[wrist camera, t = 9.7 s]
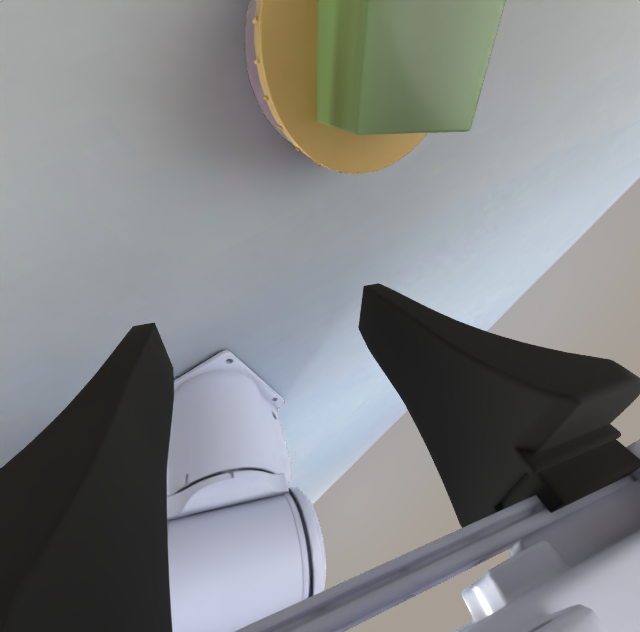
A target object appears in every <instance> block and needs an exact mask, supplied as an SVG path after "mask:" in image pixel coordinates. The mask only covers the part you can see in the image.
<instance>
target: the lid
mask: <svg viewBox="0 0 640 632" xmlns="http://www.w3.org/2000/svg"><path fill="white" fill-rule="evenodd" d="M252 23H253V24H255V27H254V43H255V54H256V60H254V64H257V69H258V74H259V79H260V83H261V86H262V89H263V93H264V96H263V99H264V100H266V101H267V104H268V106H269V108H270V111H271V113H272V115H273V117H274V118H275V120H276V122H277V124H278V125H277V127H278V128H279V129H281V130H282V131H283V133H284V134H285V135H286V137H287V138H288V139H289V140H290V141H291V142H292V143H293V144H294V145H295V147H294V148H295V149H296V150H298V151H299V152H300V151H301V152H303V153H304V154H305V155H307V156H308V157H310V158H311V159H313V160H314V163H316V164H317V165H319V166H321V165H323V166H325V167H327V168H329V169H332V170H335V171H338V172H340V173H342V172H343V173H352V174H359V173H368V172H372V171H377V170H379V169H382V168H385V167H387V166H389V165H391V164H393V163H395V162H396V161H398V160H399V159H401V158H402V157H404V156H405V155H406V154H408V153H409V152H410V151H411V150H412V149H413V148H414V147H416V146H417V145H418V144H419V142H420V141H421V140H422V139H423V138H424V137H425V136H426V135H427V133H408V134H377V135H356V134H353V133H350V132H347V131H344V130H341V129H338V128H335V127H332V126H329V125H326V124H323V123H320V122H317V33H318V0H257V3H256V13H255V18H254V19H253V20H252Z"/></svg>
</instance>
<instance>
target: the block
mask: <svg viewBox="0 0 640 632" xmlns="http://www.w3.org/2000/svg"><path fill="white" fill-rule="evenodd" d="M505 1H506V0H318V33H317V122H320V123H323V124H326V125H329V126H332V127H335V128H338V129H341V130H344V131H347V132H350V133H353V134H356V135H377V134H408V133H439V132H467V131H469V130H470V129H471V125H472V121H473V118H474V114H475V110H476V107H477V103H478V99H479V96H480V92H481V88H482V85H483V81H484V78H485V74H486V70H487V67H488V63H489V59H490V56H491V52H492V48H493V45H494V41H495V38H496V34H497V30H498V27H499V23H500V19H501V16H502V12H503V8H504V5H505Z"/></svg>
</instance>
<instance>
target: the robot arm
mask: <svg viewBox="0 0 640 632" xmlns="http://www.w3.org/2000/svg"><path fill="white" fill-rule="evenodd" d="M359 330H360V332H361V334H362V337H363V339H364V341H365V343H366V345H367V347H368V349H369V350H370V352H371V354H372V355H373V357H374V358H375V360H376V361H377V363H378V364H379V366H380V367H381V369H382V370H383V372H384V373H385V375H386V376H387V377H388V379H389V380H390V382H391V383H392V385H393V386H394V388H395V389H396V391H397V392H398V394H399V395H400V397H401V399H402V400H403V402H404V403H405V405H406V407H407V409H408V411H409V413H410V415H411V417H412V418H413V420H414V422H415V424H416V426H417V428H418V430H419V432H420V434H421V436H422V438H423V440H424V442H425V444H426V446H427V448H428V450H429V452H430V455H431V457H432V459H433V461H434V463H435V466H436V467H437V470H438V472H439V474H440V476H441V479H442V481H443V484H444V486H445V488H446V491H447V493H448V495H449V498H450V500H451V503H452V505H453V507H454V510H455V513H456V515H457V518H458V520H459V523H460V525H461V526H462V529H459V530H457V531H455V532H452V533H450V534H448V535H446V536H444V537H441V538H439V539H437V540H435V541H433V542H430V543H428V544H426V545H424V546H422V547H419V548H417V549H415V550H413V551H411V552H408V553H406V554H404V555H402V556H400V557H398V558H395V559H393V560H391V561H389V562H386V563H384V564H382V565H380V566H377V567H375V568H373V569H371V570H369V571H366V572H364V573H362V574H360V575H358V576H356V577H353V578H351V579H349V580H347V581H344V582H342V583H340V584H338V585H336V586H333V587H331V588H329V589H327V590H325V591H324V585H325V579H326V557H325V548H324V542H323V536H322V532H321V528H320V524H319V520H318V518H317V515H316V512H315V510H314V507H313V505H312V503H311V502H310V500H309V499H308V498H307V497H306V496H305V495H304V494H303V492H302V491H301V490H300V489H298V488H297V487H291V488H288V486H289V482H290V477H291V460H290V456H289V452H288V449H287V445H286V441H285V437H284V434H283V430H282V426H281V422H280V418H279V415H278V411H277V409H278V408H280V407H281V406H283V405H284V403H285V402H284V399H283V398H282V397H281V396H280V395H279V394H277V393H276V392H275V391H274V390H273V389H272V388H271V387H270V386H268V385H267V384H266V383H265V382H264V381H263V380H262V379H261V378H260V377H258V376H257V375H256V374H255V373H254V372H253V371H252V370H251V369H249V368H248V367H247V366H246V365H245V364H244V363H243V362H242V361H240V360H239V359H238V358H237V357H236V356H235V355H234V354H233V353H231V352H230V351H228V350H224V351H222V352H220V353H218V354H217V355H215V356H213V357H212V358H210V359H208V360H207V361H205V362H204V363H202V364H200V365H199V366H197V367H195V368H194V369H192V370H191V371H189V372H187V373H186V374H184V375H182V376H181V377H179V378H177V379H176V380H174V376H173V366H172V364H171V361H170V359H169V357H168V354H167V352H166V349H165V347H164V344H163V342H162V340H161V337H160V335H159V332H158V330H157V327H156V325H155V323H149V324H144V325H138V326H133V327H132V328H131V329H130V331H129V332H128V333H127V335H126V336H125V337H124V338H123V340H122V341H121V342H120V344H119V345H118V346H117V347H116V349H115V350H114V351H113V353H112V354H111V355H110V357H109V358H108V359H107V360H106V362H105V363H104V364H103V365H102V367H101V368H100V369H99V370H98V372H97V373H96V374H95V375H94V376H93V378H92V379H91V380H90V381H89V382H88V383H87V385H86V386H85V387H84V388H83V389H82V390H81V391H80V392H79V394H78V395H77V396H76V397H75V398H74V399H73V400H72V401H71V403H70V404H69V405H68V406H67V407H66V408H65V409H64V410H63V411H62V412H61V413H60V414H59V415H58V416H57V417H56V418H55V419H54V420H53V421H52V422H51V423H50V424H49V425H48V426H47V427H46V428H45V429H44V430H43V431H42V432H41V433H40V434H39V435H38V436H37V437H36V438H35V439H34V440H33V441H32V442H31V443H29V444H28V445H27V446H26V447H25V448H24V449H23V450H22V451H21V452H19V453H18V454H17V455H16V456H15V457H14V458H12V459H11V460H10V461H9V462H8V463H7V464H6V465H4V466H3V467H2V468H1V469H0V632H344V631H346V630H348V629H350V628H352V627H354V626H356V625H358V624H360V623H362V622H364V621H366V620H368V619H370V618H372V617H374V616H376V615H378V614H380V613H382V612H384V611H386V610H388V609H390V608H392V607H394V606H396V605H398V604H400V603H402V602H404V601H406V600H408V599H410V598H412V597H414V596H416V595H418V594H420V593H422V592H424V591H426V590H428V589H430V588H432V587H434V586H436V585H438V584H440V583H442V582H444V581H446V580H448V579H450V578H452V577H454V576H456V575H458V574H460V573H462V572H464V571H466V570H468V569H470V568H472V567H474V566H476V565H478V564H480V563H482V562H484V561H486V560H488V559H490V558H492V557H494V556H496V555H498V554H500V553H502V552H504V551H506V550H508V549H510V548H511V549H510V557H511V558H509V559H508V560H506V561H504V562H502V563H501V564H499V565H497V566H496V567H494V568H492V569H490V570H489V571H488V572H487V573H486V574H485V575H484V576H483V577H482V578H480V579H479V580H478V581H476V582H475V583H473V584H472V585H471V586H469V587H468V588H466V589H465V590H463V591H462V597H463V599H464V601H465V603H466V605H467V607H468V608H469V610H470V612H471V614H472V618H473V621H472V622H470V623H469V624H467V625H465V626H463V627H461V628H460V629H458V630H456V631H454V632H640V440H638V441H636V442H634V443H632V444H631V445H629V446H628V447H624V446H623V445H622V444H621V443H620V442H618V441H617V440H616V439H617V438H619V437H620V436H621V433H620V432H619V431H618V430H617V429H616V428H614V427H613V426H612V425H611V424H610V423H611V422H612V421H613V420H614V419H615V418H616V417H617V416H619V415H620V414H621V413H622V412H623V411H624V410H625V409H626V408H627V407H628V406H629V405H630V404H631V403H632V402H633V401H634V400H635V399H636V398H637V397H638V396H639V394H640V378H639V377H638V376H636V375H635V374H633V373H631V372H630V371H629V370H627V369H625V368H624V367H622V366H621V365H619V364H618V363H616V362H614V361H612V360H609V359H603V358H597V357H591V356H585V355H579V354H573V353H567V352H562V351H558V350H553V349H548V348H544V347H539V346H535V345H531V344H527V343H523V342H519V341H516V340H512V339H509V338H505V337H502V336H499V335H495V334H492V333H489V332H486V331H483V330H481V329H478V328H475V327H472V326H469V325H467V324H464V323H462V322H459V321H457V320H454V319H452V318H450V317H448V316H445V315H443V314H441V313H438V312H436V311H434V310H432V309H430V308H428V307H426V306H424V305H422V304H420V303H418V302H416V301H414V300H412V299H410V298H408V297H406V296H404V295H402V294H400V293H398V292H396V291H394V290H392V289H390V288H388V287H386V286H383V285H381V284H373V285H367V286H364V288H363V296H362V304H361V313H360V321H359ZM228 359H231V360H228Z"/></svg>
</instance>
